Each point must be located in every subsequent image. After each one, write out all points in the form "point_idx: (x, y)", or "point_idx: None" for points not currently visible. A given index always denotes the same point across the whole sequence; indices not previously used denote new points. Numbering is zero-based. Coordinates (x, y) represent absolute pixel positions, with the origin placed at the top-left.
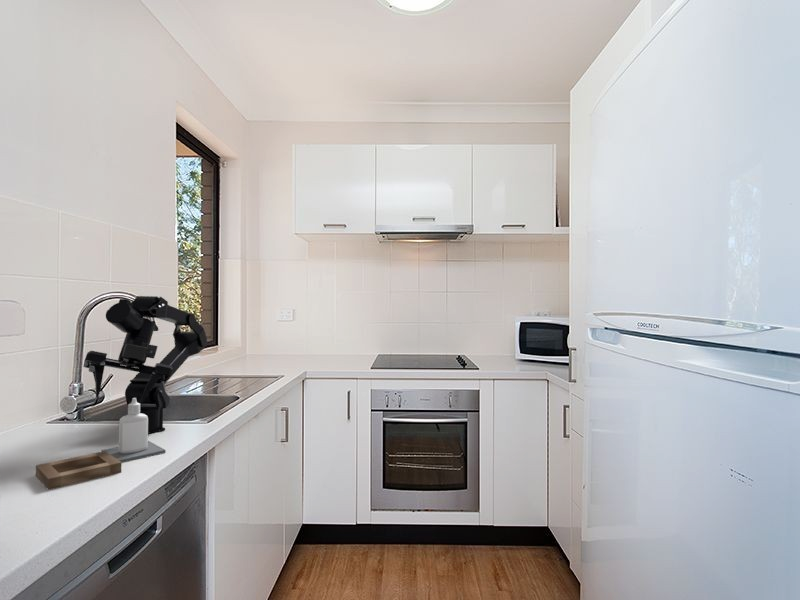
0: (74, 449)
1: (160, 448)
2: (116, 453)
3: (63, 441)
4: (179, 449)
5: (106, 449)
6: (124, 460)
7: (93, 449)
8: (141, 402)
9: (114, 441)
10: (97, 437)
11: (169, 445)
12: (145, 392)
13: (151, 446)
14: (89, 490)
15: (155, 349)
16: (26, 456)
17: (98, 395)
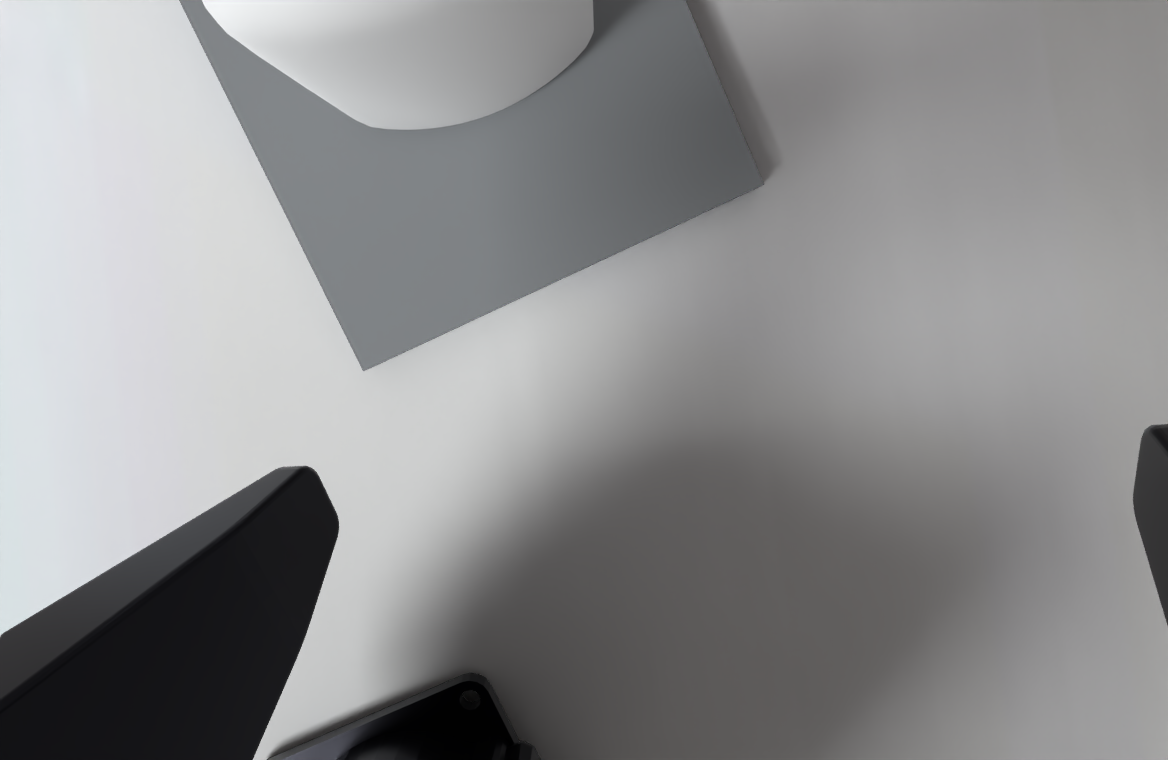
0: (1011, 398)
1: (212, 30)
2: (608, 6)
3: (1146, 715)
4: (51, 31)
5: (719, 188)
6: None
7: (843, 334)
8: (282, 471)
9: (691, 547)
10: (863, 748)
11: (162, 212)
12: (117, 592)
13: (307, 134)
14: None
15: None
16: None
17: (1159, 431)
